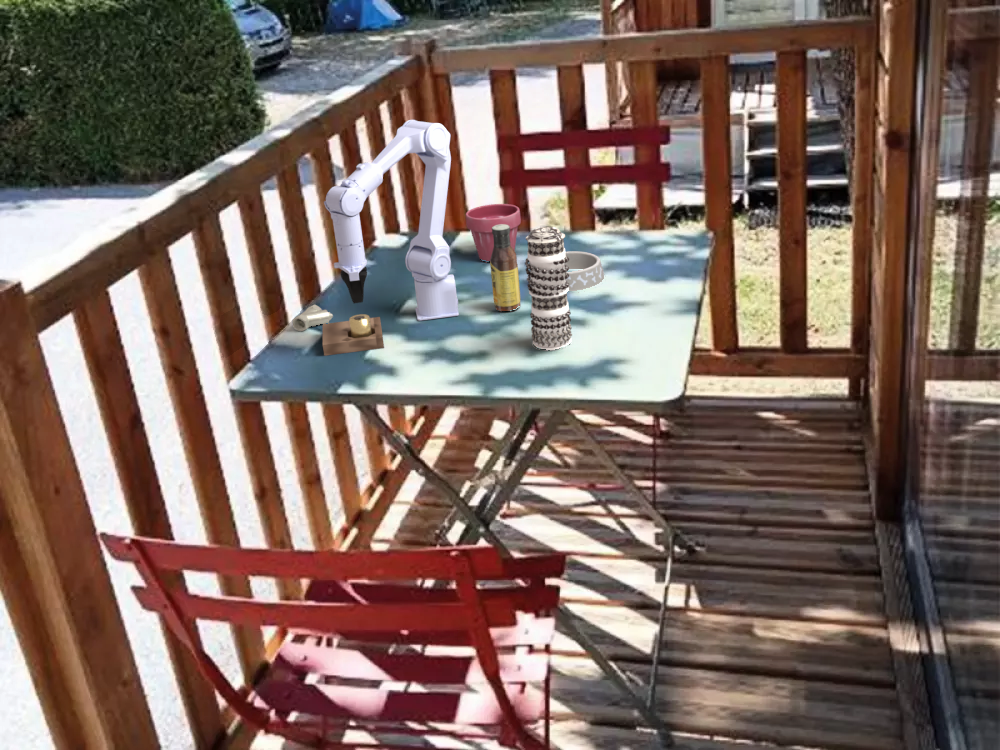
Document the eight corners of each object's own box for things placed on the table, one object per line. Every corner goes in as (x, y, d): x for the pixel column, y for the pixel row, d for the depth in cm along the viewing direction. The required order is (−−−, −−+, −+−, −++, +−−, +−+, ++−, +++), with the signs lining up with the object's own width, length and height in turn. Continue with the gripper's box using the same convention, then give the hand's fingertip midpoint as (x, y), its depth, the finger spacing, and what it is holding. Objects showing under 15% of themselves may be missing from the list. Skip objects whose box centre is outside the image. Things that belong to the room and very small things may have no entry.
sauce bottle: (497, 303, 266) (490, 222, 258) (523, 303, 265) (517, 221, 257) (491, 313, 260) (484, 230, 252) (518, 313, 259) (511, 230, 251)
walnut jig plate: (381, 327, 258) (379, 316, 257) (384, 347, 246) (382, 337, 245) (324, 334, 257) (322, 324, 256) (324, 355, 245) (322, 345, 244)
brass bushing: (372, 338, 252) (368, 313, 250) (373, 345, 248) (369, 319, 246) (352, 340, 252) (348, 315, 250) (353, 348, 248) (349, 322, 246)
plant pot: (458, 260, 299) (454, 213, 294) (497, 246, 308) (493, 200, 303) (495, 270, 289) (491, 221, 284) (534, 255, 298) (531, 208, 293)
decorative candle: (568, 332, 246) (561, 220, 236) (578, 347, 238) (571, 232, 228) (527, 338, 245) (518, 226, 235) (535, 353, 237) (527, 238, 227)
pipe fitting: (335, 322, 266) (309, 318, 268) (334, 306, 264) (308, 303, 266) (319, 335, 259) (293, 331, 261) (318, 319, 257) (291, 315, 259)
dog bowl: (585, 297, 266) (584, 276, 264) (518, 289, 275) (516, 268, 273) (617, 275, 279) (616, 254, 277) (552, 267, 288) (551, 247, 286)
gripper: (330, 235, 248) (339, 293, 253) (331, 254, 235) (340, 315, 240) (362, 231, 249) (370, 289, 254) (365, 250, 235) (373, 311, 241)
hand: (358, 302), depth 247 cm, fingers closed
